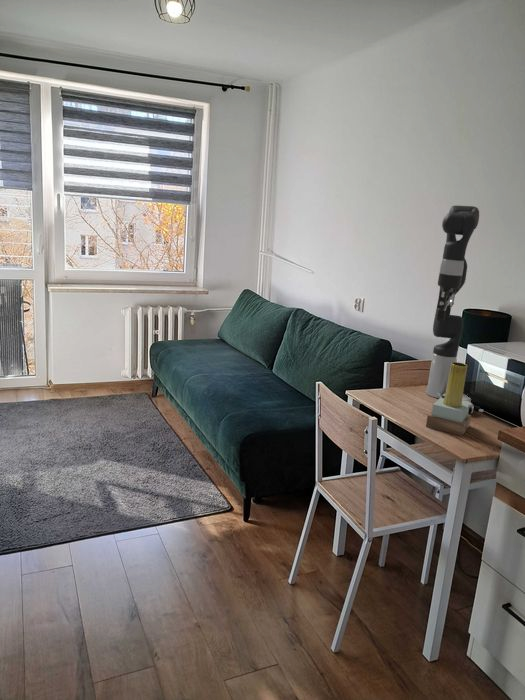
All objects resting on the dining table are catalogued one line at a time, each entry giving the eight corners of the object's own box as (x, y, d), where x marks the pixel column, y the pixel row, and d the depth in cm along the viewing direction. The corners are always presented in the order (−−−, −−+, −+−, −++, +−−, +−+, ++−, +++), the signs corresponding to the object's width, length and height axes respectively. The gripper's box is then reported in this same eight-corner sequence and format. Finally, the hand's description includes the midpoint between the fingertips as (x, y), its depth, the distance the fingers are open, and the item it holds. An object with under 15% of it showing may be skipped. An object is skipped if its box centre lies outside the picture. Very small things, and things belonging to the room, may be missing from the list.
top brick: (438, 408, 197) (440, 397, 196) (467, 415, 192) (469, 404, 191) (431, 415, 188) (433, 404, 187) (461, 423, 183) (463, 411, 182)
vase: (465, 407, 188) (472, 366, 184) (451, 408, 185) (458, 366, 182) (453, 401, 193) (460, 361, 190) (439, 401, 191) (445, 361, 187)
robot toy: (484, 418, 205) (464, 402, 219) (487, 407, 204) (466, 391, 218) (453, 418, 203) (435, 401, 217) (456, 406, 202) (437, 390, 216)
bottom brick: (434, 417, 199) (436, 406, 198) (469, 426, 193) (471, 415, 192) (425, 426, 189) (427, 415, 188) (462, 435, 183) (464, 424, 182)
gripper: (457, 275, 182) (449, 324, 186) (466, 273, 194) (458, 318, 198) (434, 272, 186) (427, 320, 190) (444, 270, 198) (437, 314, 202)
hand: (443, 319), depth 194 cm, fingers open, 8 cm apart
